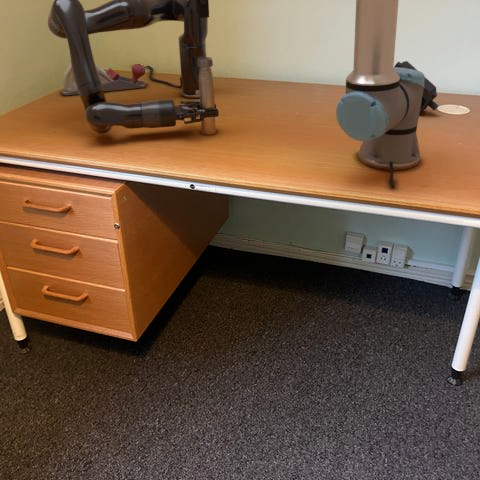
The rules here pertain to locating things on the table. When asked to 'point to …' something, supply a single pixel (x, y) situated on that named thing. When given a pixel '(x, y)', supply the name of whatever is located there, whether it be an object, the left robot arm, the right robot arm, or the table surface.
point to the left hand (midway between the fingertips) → (216, 109)
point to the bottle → (207, 99)
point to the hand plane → (107, 80)
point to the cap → (205, 62)
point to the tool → (428, 90)
